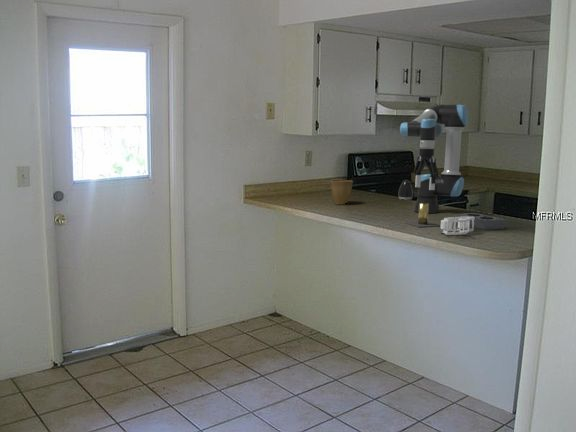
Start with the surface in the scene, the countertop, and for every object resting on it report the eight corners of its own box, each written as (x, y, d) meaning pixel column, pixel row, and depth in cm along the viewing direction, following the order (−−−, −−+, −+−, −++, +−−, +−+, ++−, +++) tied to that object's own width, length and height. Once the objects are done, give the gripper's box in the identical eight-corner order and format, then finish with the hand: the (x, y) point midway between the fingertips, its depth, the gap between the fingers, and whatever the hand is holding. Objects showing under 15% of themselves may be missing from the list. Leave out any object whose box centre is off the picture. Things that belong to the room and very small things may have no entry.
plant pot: (353, 206, 391) (354, 181, 389) (330, 205, 391) (331, 181, 389) (351, 203, 406) (352, 179, 403) (329, 202, 406) (329, 179, 404)
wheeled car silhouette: (466, 229, 312) (467, 215, 311) (481, 232, 302) (482, 218, 301) (435, 231, 304) (436, 217, 303) (449, 235, 294) (450, 220, 293)
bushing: (416, 223, 324) (417, 202, 322) (424, 222, 326) (425, 202, 324) (421, 224, 319) (422, 204, 318) (429, 224, 321) (430, 203, 319)
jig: (455, 222, 332) (456, 213, 331) (475, 221, 337) (476, 212, 336) (483, 230, 310) (484, 220, 309) (504, 229, 314) (505, 219, 313)
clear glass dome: (405, 202, 414) (406, 180, 411) (394, 201, 422) (395, 179, 420) (415, 201, 420) (417, 180, 417) (404, 200, 428) (405, 178, 426)
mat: (404, 223, 327) (404, 222, 327) (426, 222, 332) (426, 221, 331) (418, 227, 314) (418, 226, 314) (441, 226, 318) (441, 225, 318)
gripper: (408, 147, 327) (406, 186, 330) (434, 149, 304) (431, 191, 307) (420, 147, 329) (418, 186, 332) (446, 149, 306) (444, 190, 309)
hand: (424, 188), depth 319 cm, fingers open, 13 cm apart
